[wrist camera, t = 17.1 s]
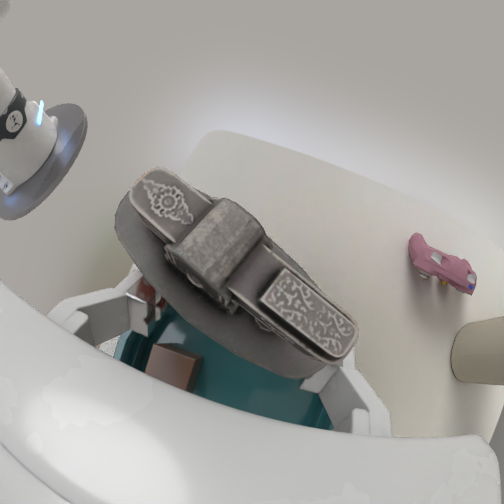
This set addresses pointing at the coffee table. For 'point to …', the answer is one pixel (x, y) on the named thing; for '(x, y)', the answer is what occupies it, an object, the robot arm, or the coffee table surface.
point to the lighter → (230, 277)
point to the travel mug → (480, 352)
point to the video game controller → (441, 265)
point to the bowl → (227, 374)
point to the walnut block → (174, 366)
